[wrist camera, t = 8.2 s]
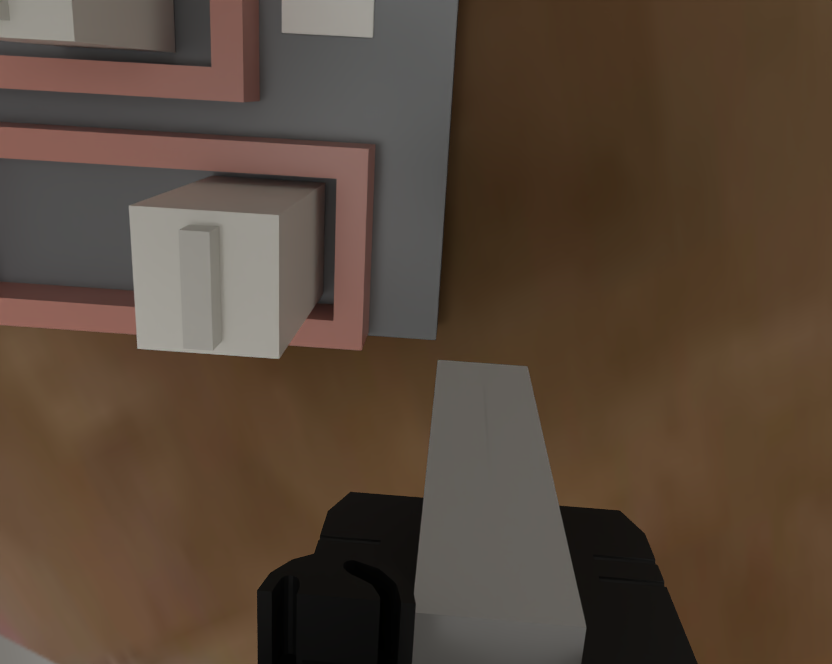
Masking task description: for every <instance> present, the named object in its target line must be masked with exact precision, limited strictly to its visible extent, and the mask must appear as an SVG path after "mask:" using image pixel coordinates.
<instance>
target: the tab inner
mask: <svg viewBox="0 0 832 664" xmlns="http://www.w3.org/2000/svg"><path fill="white" fill-rule="evenodd" d="M0 41H10V42H20V43H30V44H41V45H51V46H64V47H82V48H100V49H118V50H136V51H154V52H172V53H175V31H174V6H173V0H0Z"/></svg>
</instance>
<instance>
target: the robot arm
mask: <svg viewBox="0 0 832 664" xmlns="http://www.w3.org/2000/svg"><path fill="white" fill-rule="evenodd" d="M257 624H258V664H697V661H696V659H695V656H694V654H693V651H692V649H691V646H690V644H689V641H688V639H687V636H686V634H685V632H684V629H683V627H682V624H681V622H680V619H679V617H678V614H677V612H676V609H675V607H674V604H673V602H672V600H671V597H670V595H669V592H668V590H667V587H664V580H663V577H662V575H661V572H660V570H659V567H658V565H655V558H654V555H653V553H652V550H651V548H650V545H649V543H648V540H647V538H646V535H645V533H643V532H642V531H641V530H640V529H639V528H638V527H637V526H636V525H635V524H634V523H633V522H632V521H630V520H629V519H628V518H627V517H626V516H625V515H624V514H623V513H622V512H621V511H618V510H606V509H593V508H581V507H568V506H559V504H558V499H557V495H556V490H555V486H554V482H553V477H552V473H551V468H550V464H549V459H548V455H547V451H546V446H545V442H544V437H543V433H542V428H541V424H540V420H539V415H538V411H537V406H536V402H535V398H534V393H533V389H532V384H531V380H530V375H529V371H528V367H527V366H516V365H502V364H489V363H475V362H461V361H447V360H438V363H437V372H436V382H435V392H434V402H433V411H432V421H431V431H430V441H429V450H428V460H427V470H426V480H425V489H424V498H420V497H407V496H395V495H382V494H369V493H357V492H350V493H349V494H347V495H346V496H345V497H344V498H343V499H342V500H340V501H339V502H338V503H337V504H336V505H335V506H333V507H332V508H331V509H330V510H329V511H328V513H327V516H326V519H325V522H324V525H323V528H322V531H321V534H320V540H319V541H318V544H317V547H316V550H315V553H314V554H311V555H307V556H304V557H300V558H296V559H293V560H291V561H289V562H287V563H286V564H284V565H282V566H281V567H279V568H277V569H276V570H274V571H272V572H271V573H270V574H269V575H268V577H267V578H266V579H265V581H264V582H263V583H262V585H261V586H260V587H259V589H258V590H257Z"/></svg>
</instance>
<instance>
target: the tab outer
mask: <svg viewBox="0 0 832 664" xmlns="http://www.w3.org/2000/svg"><path fill="white" fill-rule="evenodd" d="M324 212H325V183H319V182H303V181H287V180H271V179H255V178H239V177H223V176H210V177H207V178H204V179H201V180H199V181H196V182H193V183H190V184H187V185H185V186H182V187H179V188H176V189H173V190H171V191H168V192H165V193H162V194H160V195H157V196H154V197H151V198H148V199H146V200H143V201H140V202H137V203H134V204H132V205H129V218H130V235H131V251H132V267H133V284H134V300H135V317H136V333H137V349H148V350H162V351H176V352H190V353H204V354H218V355H232V356H246V357H260V358H274V359H279V358H280V357H281V355H282V354H283V352H284V351H285V349H286V348H287V346H288V345H289V343H290V342H291V341H292V339H293V338H294V336H295V335H296V333H297V332H298V330H299V329H300V327H301V326H302V324H303V323H304V321H305V320H306V318H307V317H308V315H309V314H310V312H311V311H312V309H313V308H314V307H315V305H316V304H317V302H318V301H319V299H320V298H321V296H322V295H323V270H324Z"/></svg>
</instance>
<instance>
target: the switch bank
mask: <svg viewBox="0 0 832 664" xmlns="http://www.w3.org/2000/svg"><path fill="white" fill-rule="evenodd" d="M458 5H459V0H173V6H174V31H175V53H172V52H154V51H136V50H118V49H100V48H82V47H64V46H51V45H41V44H30V43H20V42H10V41H0V325H9V326H23V327H37V328H51V329H65V330H79V331H93V332H107V333H121V334H136V335H137V333H136V317H135V300H134V284H133V267H132V251H131V235H130V218H129V205H132V204H134V203H137V202H140V201H143V200H146V199H148V198H151V197H154V196H157V195H160V194H162V193H165V192H168V191H171V190H173V189H176V188H179V187H182V186H185V185H187V184H190V183H193V182H196V181H199V180H201V179H204V178H207V177H210V176H223V177H239V178H255V179H271V180H287V181H303V182H319V183H325V212H324V270H323V295H322V296H321V298H320V299H319V301H318V302H317V304H316V305H315V307H314V308H313V309H312V311H311V312H310V314H309V315H308V317H307V318H306V320H305V321H304V323H303V324H302V326H301V327H300V329H299V330H298V332H297V333H296V335H295V336H294V338H293V339H292V341H291V342H290V343H289V345H291V346H305V347H319V348H333V349H347V350H361V351H362V348H363V346H364V343H365V341H366V338H367V335H370V336H385V337H399V338H413V339H427V340H436V334H437V325H438V311H439V296H440V280H441V265H442V250H443V234H444V219H445V204H446V189H447V173H448V158H449V143H450V128H451V112H452V97H453V82H454V66H455V51H456V36H457V21H458Z"/></svg>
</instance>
